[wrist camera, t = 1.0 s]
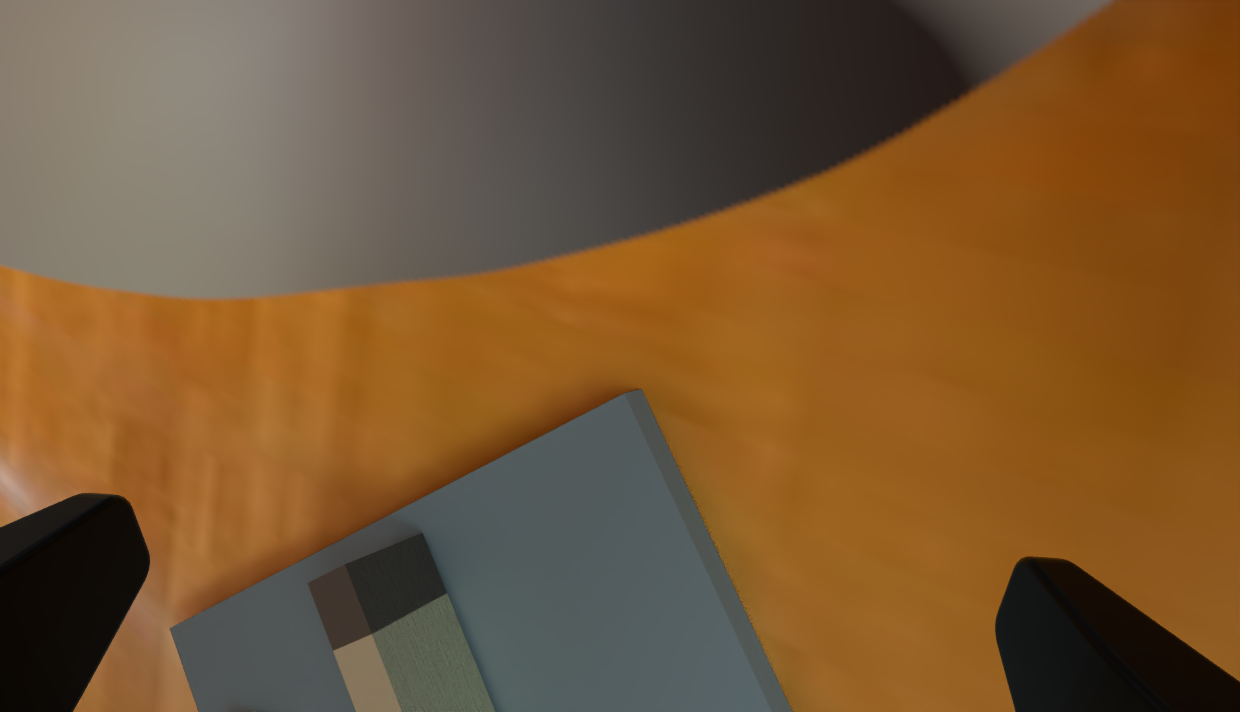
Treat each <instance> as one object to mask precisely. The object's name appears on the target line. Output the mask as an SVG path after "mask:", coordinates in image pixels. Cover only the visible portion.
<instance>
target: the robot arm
mask: <svg viewBox="0 0 1240 712" xmlns="http://www.w3.org/2000/svg"><path fill="white" fill-rule="evenodd" d="M149 566H150V555H149V551H148V548H147V545H146V543H145V540H144V537H143V535H142V532H141V529H140V527H139V524H138V521H137V519H136V516H135V513H134V510H133V508H132V506H131V504H130V502H129V501H127V500H126V499H125V498H124V497H122V496H119V495H113V494H98V493H82V494H78V495H75V496H72V497H70V498H67V499H65V500H63V501H61V502H58V503H56V504H54V505H51V506H49V507H47V508H44V509H42V510H40V511H37V512H35V513H33V514H31V515H28V516H26V517H24V518H21V519H19V520H17V521H14V522H12V523H10V524H7V525H5V526H3V527H0V712H73V710H74V709H75V707H76V705H77V703H78V702H79V700H80V698H81V697H82V695H83V693H84V691H85V689H86V688H87V686H88V684H89V682H90V680H91V678H92V677H93V675H94V673H95V671H96V669H97V667H98V666H99V664H100V662H101V660H102V658H103V656H104V655H105V653H106V651H107V649H108V647H109V645H110V644H111V642H112V640H113V638H114V636H115V634H116V633H117V631H118V629H119V627H120V625H121V623H122V622H123V620H124V618H125V616H126V614H127V612H128V611H129V609H130V607H131V605H132V603H133V601H134V600H135V598H136V596H137V594H138V592H139V590H140V589H141V587H142V585H143V583H144V581H145V579H146V577H147V574H148V571H149ZM995 633H996V640H997V644H998V648H999V652H1000V656H1001V659H1002V663H1003V667H1004V671H1005V674H1006V678H1007V682H1008V685H1009V689H1010V693H1011V697H1012V700H1013V704H1014V708H1015V711H1016V712H1240V682H1239V681H1238V680H1237V679H1235V678H1234V677H1232V676H1231V675H1230V674H1228V673H1227V672H1225V671H1224V670H1223V669H1221V668H1220V667H1218V666H1217V665H1216V664H1214V663H1213V662H1211V661H1210V660H1209V659H1207V658H1206V657H1204V656H1203V655H1202V654H1200V653H1199V652H1197V651H1196V650H1195V649H1193V648H1192V647H1190V646H1189V645H1188V644H1186V643H1185V642H1183V641H1182V640H1180V639H1179V638H1178V637H1176V636H1175V635H1173V634H1172V633H1171V632H1169V631H1168V630H1166V629H1165V628H1164V627H1162V626H1161V625H1159V624H1158V623H1157V622H1155V621H1154V620H1152V619H1151V618H1150V617H1148V616H1147V615H1145V614H1144V613H1143V612H1141V611H1140V610H1138V609H1137V608H1136V607H1134V606H1133V605H1131V604H1130V603H1129V602H1127V601H1126V600H1124V599H1123V598H1122V597H1120V596H1119V595H1117V594H1116V593H1115V592H1113V591H1112V590H1110V589H1109V588H1108V587H1106V586H1105V585H1103V584H1102V583H1101V582H1099V581H1098V580H1096V579H1095V578H1094V577H1092V576H1091V575H1089V574H1088V573H1086V572H1085V571H1084V570H1082V569H1081V568H1079V567H1078V566H1077V565H1075V564H1073V563H1072V562H1070V561H1068V560H1064V559H1059V558H1044V557H1025V558H1022V559H1020V560H1019V561H1018V562H1017V563H1016V565H1015V567H1014V569H1013V572H1012V575H1011V578H1010V580H1009V583H1008V586H1007V588H1006V591H1005V594H1004V597H1003V599H1002V602H1001V605H1000V607H999V610H998V613H997V617H996V623H995Z"/></svg>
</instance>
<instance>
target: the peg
mask: <svg viewBox="0 0 1240 712" xmlns="http://www.w3.org/2000/svg"><path fill="white" fill-rule="evenodd" d="M307 584H308V586H309V589H310V592H311V594H312V597H313V599H314V602H315V605H316V607H317V610H318V613H319V615H320V618H321V621H322V623H323V626H324V629H325V631H326V634H327V636H328V639H329V642H330V644H331V647H332V650H333V652H334V655H335V658H336V660H337V663H338V666H339V668H340V671H341V673H342V676H343V679H344V681H345V684H346V687H347V689H348V692H349V695H350V697H351V700H352V702H353V705H354V708H355V710H356V712H495V709H494V707H493V705H492V702H491V700H490V697H489V695H488V692H487V690H486V687H485V685H484V682H483V680H482V677H481V675H480V673H479V670H478V668H477V665H476V663H475V660H474V658H473V655H472V653H471V650H470V648H469V646H468V643H467V641H466V638H465V636H464V633H463V631H462V628H461V626H460V623H459V621H458V619H457V616H456V614H455V611H454V609H453V606H452V604H451V601H450V599H449V596H448V594H447V591H446V589H445V587H444V584H443V582H442V579H441V577H440V574H439V572H438V569H437V567H436V564H435V562H434V560H433V557H432V555H431V552H430V550H429V547H428V545H427V542H426V540H425V537H424V535H423V533H421V534H418V535H416V536H413V537H411V538H408V539H406V540H403V541H401V542H399V543H396V544H394V545H391V546H389V547H386V548H384V549H381V550H379V551H376V552H374V553H372V554H369V555H367V556H364V557H362V558H359V559H357V560H354V561H352V562H349V563H347V564H345V565H343V566H341V567H338V568H336V569H334V570H332V571H330V572H328V573H326V574H324V575H322V576H320V577H318V578H316V579H314V580H312V581H310V582H308V583H307Z"/></svg>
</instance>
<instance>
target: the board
mask: <svg viewBox="0 0 1240 712" xmlns="http://www.w3.org/2000/svg"><path fill="white" fill-rule="evenodd" d="M421 533H423V535H424V537H425V540H426V542H427V545H428V547H429V550H430V552H431V555H432V557H433V560H434V562H435V564H436V567H437V569H438V572H439V574H440V577H441V579H442V582H443V584H444V587H445V589H446V591H447V594H448V596H449V599H450V601H451V604H452V606H453V609H454V611H455V614H456V616H457V619H458V621H459V623H460V626H461V628H462V631H463V633H464V636H465V638H466V641H467V643H468V646H469V648H470V650H471V653H472V655H473V658H474V660H475V663H476V665H477V668H478V670H479V673H480V675H481V677H482V680H483V682H484V685H485V687H486V690H487V692H488V695H489V697H490V700H491V702H492V705H493V707H494V709H495V712H792V710H791V708H790V706H789V704H788V702H787V700H786V697H785V695H784V693H783V691H782V689H781V687H780V685H779V682H778V680H777V678H776V676H775V674H774V672H773V670H772V667H771V665H770V663H769V661H768V659H767V657H766V655H765V653H764V650H763V648H762V646H761V644H760V642H759V640H758V638H757V635H756V633H755V631H754V629H753V627H752V625H751V623H750V620H749V618H748V616H747V614H746V612H745V610H744V608H743V605H742V603H741V601H740V599H739V597H738V595H737V593H736V590H735V588H734V586H733V584H732V582H731V580H730V578H729V576H728V573H727V571H726V569H725V567H724V565H723V563H722V561H721V558H720V556H719V554H718V552H717V550H716V548H715V546H714V543H713V541H712V539H711V537H710V535H709V533H708V531H707V528H706V526H705V524H704V522H703V520H702V518H701V516H700V513H699V511H698V509H697V507H696V505H695V503H694V501H693V499H692V496H691V494H690V492H689V490H688V488H687V486H686V484H685V481H684V479H683V477H682V475H681V473H680V471H679V469H678V466H677V464H676V462H675V460H674V458H673V456H672V454H671V451H670V449H669V447H668V445H667V443H666V441H665V439H664V436H663V434H662V432H661V430H660V428H659V426H658V424H657V421H656V419H655V417H654V415H653V413H652V411H651V409H650V407H649V404H648V402H647V400H646V398H645V396H644V394H643V392H642V389H640V390H636V391H631V392H627V393H624V394H622V395H620V396H618V397H616V398H614V399H612V400H610V401H608V402H606V403H604V404H602V405H600V406H598V407H597V408H595V409H593V410H591V411H589V412H587V413H585V414H583V415H581V416H579V417H577V418H575V419H573V420H571V421H570V422H568V423H566V424H564V425H562V426H560V427H558V428H556V429H554V430H552V431H550V432H548V433H546V434H544V435H542V436H541V437H539V438H537V439H535V440H533V441H531V442H529V443H527V444H525V445H523V446H521V447H519V448H517V449H515V450H513V451H512V452H510V453H508V454H506V455H504V456H502V457H500V458H498V459H496V460H494V461H492V462H490V463H488V464H486V465H485V466H483V467H481V468H479V469H477V470H475V471H473V472H471V473H469V474H467V475H465V476H463V477H461V478H459V479H457V480H456V481H454V482H452V483H450V484H448V485H446V486H444V487H442V488H440V489H438V490H436V491H434V492H432V493H430V494H429V495H427V496H425V497H423V498H421V499H419V500H417V501H415V502H413V503H411V504H409V505H407V506H405V507H403V508H401V509H400V510H398V511H396V512H394V513H392V514H390V515H388V516H386V517H384V518H382V519H380V520H378V521H376V522H374V523H372V524H371V525H369V526H367V527H365V528H363V529H361V530H359V531H357V532H355V533H353V534H351V535H349V536H347V537H345V538H344V539H342V540H340V541H338V542H336V543H334V544H332V545H330V546H328V547H326V548H324V549H322V550H320V551H318V552H316V553H315V554H313V555H311V556H309V557H307V558H305V559H303V560H301V561H299V562H297V563H295V564H293V565H291V566H289V567H287V568H286V569H284V570H282V571H280V572H278V573H276V574H274V575H272V576H270V577H268V578H266V579H264V580H262V581H260V582H259V583H257V584H255V585H253V586H251V587H249V588H247V589H245V590H243V591H241V592H239V593H237V594H235V595H233V596H231V597H230V598H228V599H226V600H224V601H222V602H220V603H218V604H216V605H214V606H212V607H210V608H208V609H206V610H204V611H202V612H201V613H199V614H197V615H195V616H193V617H191V618H189V619H187V620H185V621H183V622H181V623H179V624H177V625H175V626H174V627H172V628H170V631H171V634H172V637H173V639H174V642H175V645H176V648H177V651H178V654H179V657H180V660H181V662H182V665H183V668H184V671H185V674H186V677H187V680H188V683H189V686H190V688H191V691H192V694H193V697H194V700H195V703H196V706H197V709H198V712H356V710H355V708H354V705H353V702H352V700H351V697H350V695H349V692H348V689H347V687H346V684H345V681H344V679H343V676H342V673H341V671H340V668H339V666H338V663H337V660H336V658H335V655H334V652H333V650H332V647H331V644H330V642H329V639H328V636H327V634H326V631H325V629H324V626H323V623H322V621H321V618H320V615H319V613H318V610H317V607H316V605H315V602H314V599H313V597H312V594H311V592H310V589H309V586H308V584H307V583H308V582H310V581H312V580H314V579H316V578H318V577H320V576H322V575H324V574H326V573H328V572H330V571H332V570H334V569H336V568H338V567H341V566H343V565H345V564H347V563H349V562H352V561H354V560H357V559H359V558H362V557H364V556H367V555H369V554H372V553H374V552H376V551H379V550H381V549H384V548H386V547H389V546H391V545H394V544H396V543H399V542H401V541H403V540H406V539H408V538H411V537H413V536H416V535H418V534H421Z"/></svg>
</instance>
